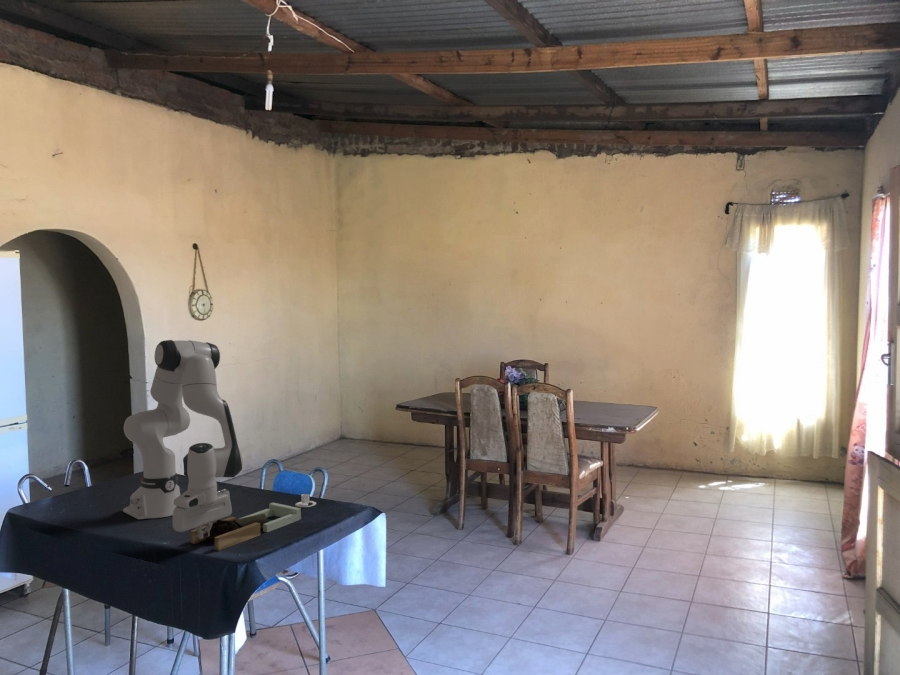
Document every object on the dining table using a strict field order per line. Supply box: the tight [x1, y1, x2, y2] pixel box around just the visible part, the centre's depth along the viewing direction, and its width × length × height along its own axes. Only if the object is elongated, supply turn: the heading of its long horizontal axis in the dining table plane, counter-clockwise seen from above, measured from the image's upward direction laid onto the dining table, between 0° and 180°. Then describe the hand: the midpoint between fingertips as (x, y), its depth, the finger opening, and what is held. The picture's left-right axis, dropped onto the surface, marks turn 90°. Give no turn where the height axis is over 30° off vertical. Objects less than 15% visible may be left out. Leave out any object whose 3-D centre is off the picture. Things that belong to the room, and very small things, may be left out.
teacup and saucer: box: [294, 493, 317, 508], centre depth 266 cm, size 9×8×4 cm
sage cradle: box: [238, 502, 302, 533], centre depth 246 cm, size 14×16×4 cm
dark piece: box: [204, 514, 268, 541], centre depth 232 cm, size 21×8×7 cm, turn 133°
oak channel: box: [189, 516, 261, 552], centre depth 229 cm, size 14×17×4 cm
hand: (204, 537), depth 222 cm, fingers closed
